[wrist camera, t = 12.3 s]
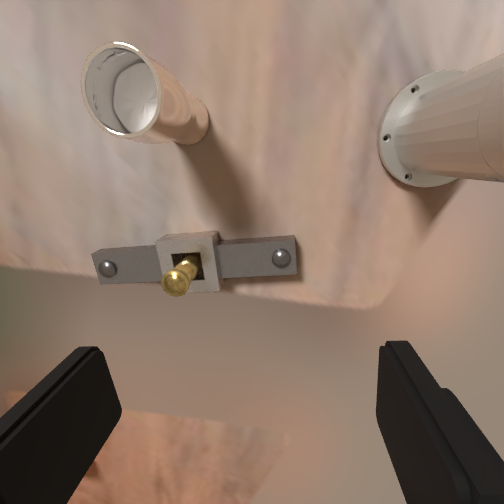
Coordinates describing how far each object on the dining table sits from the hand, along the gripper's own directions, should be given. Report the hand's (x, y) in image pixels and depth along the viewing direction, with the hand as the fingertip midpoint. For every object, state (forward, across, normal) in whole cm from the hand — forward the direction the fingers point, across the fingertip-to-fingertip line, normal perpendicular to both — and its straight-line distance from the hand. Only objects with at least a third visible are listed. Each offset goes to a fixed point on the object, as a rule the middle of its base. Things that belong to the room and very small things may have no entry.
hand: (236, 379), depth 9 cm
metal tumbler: (+31, +10, -13) cm, 35 cm away
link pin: (+30, +12, +6) cm, 33 cm away
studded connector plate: (+30, +12, +6) cm, 33 cm away
